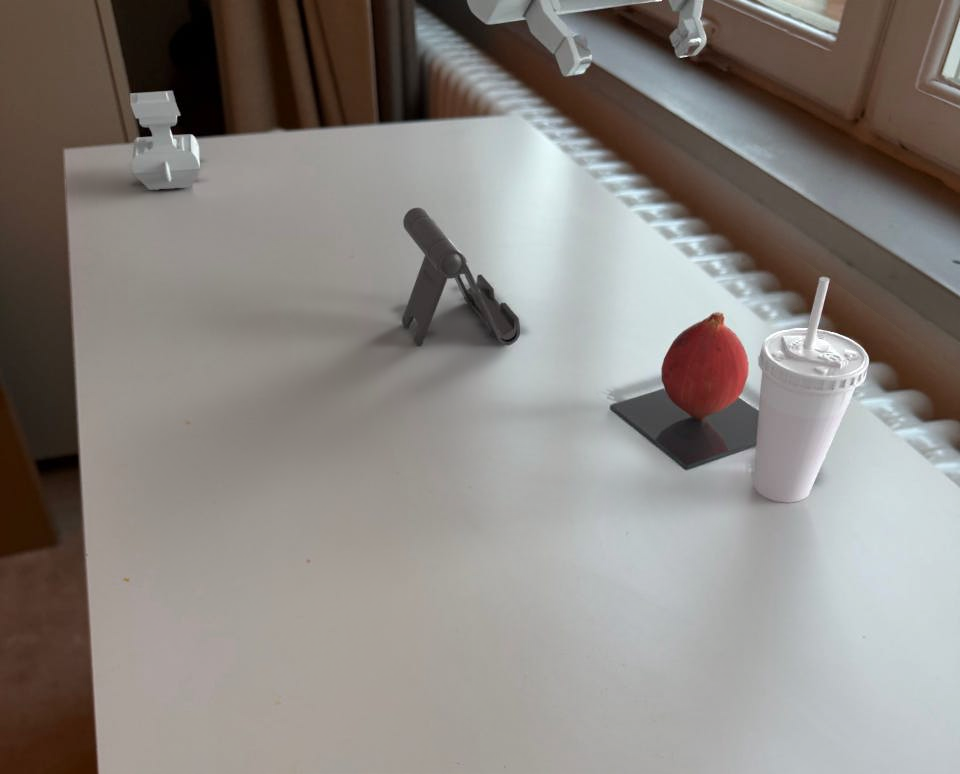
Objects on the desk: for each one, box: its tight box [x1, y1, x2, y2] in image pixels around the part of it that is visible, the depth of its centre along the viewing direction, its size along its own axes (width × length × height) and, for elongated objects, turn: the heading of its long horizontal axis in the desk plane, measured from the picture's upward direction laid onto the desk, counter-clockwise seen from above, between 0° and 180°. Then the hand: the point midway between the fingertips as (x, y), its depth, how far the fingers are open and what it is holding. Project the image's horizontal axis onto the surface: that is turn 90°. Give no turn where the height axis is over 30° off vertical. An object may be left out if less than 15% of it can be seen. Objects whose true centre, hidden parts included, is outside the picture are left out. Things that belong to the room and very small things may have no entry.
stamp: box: [129, 90, 201, 191], centre depth 104 cm, size 9×7×8 cm
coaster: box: [609, 387, 759, 471], centre depth 74 cm, size 9×9×1 cm
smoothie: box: [752, 276, 870, 504], centre depth 63 cm, size 6×6×14 cm
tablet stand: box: [401, 207, 521, 347], centre depth 81 cm, size 9×8×8 cm
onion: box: [660, 311, 750, 419], centre depth 71 cm, size 6×6×8 cm
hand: (637, 60), depth 69 cm, fingers open, 8 cm apart
